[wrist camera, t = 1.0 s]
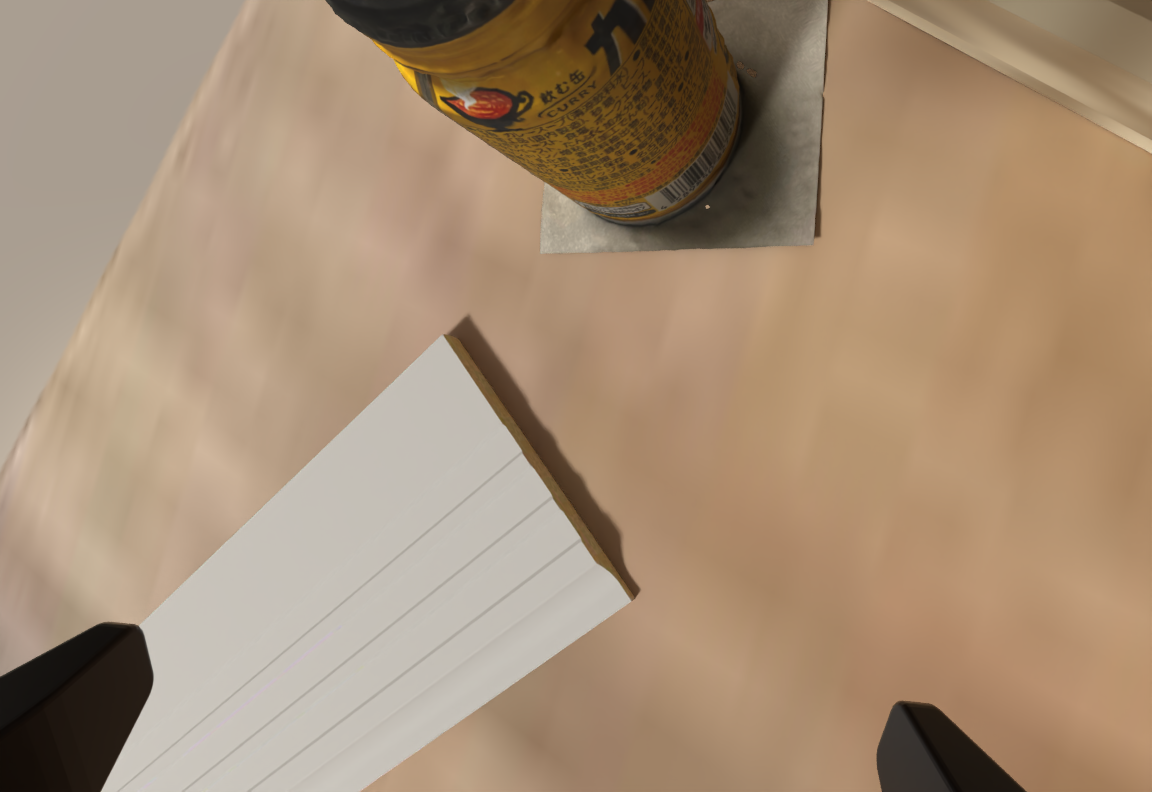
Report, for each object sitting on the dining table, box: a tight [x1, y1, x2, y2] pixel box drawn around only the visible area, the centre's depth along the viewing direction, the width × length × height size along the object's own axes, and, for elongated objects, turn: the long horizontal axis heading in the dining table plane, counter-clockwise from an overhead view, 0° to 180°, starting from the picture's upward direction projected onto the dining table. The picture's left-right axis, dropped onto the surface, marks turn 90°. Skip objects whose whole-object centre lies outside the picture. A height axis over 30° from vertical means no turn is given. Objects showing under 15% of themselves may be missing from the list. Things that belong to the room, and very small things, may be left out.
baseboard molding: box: [101, 334, 635, 792], centre depth 27 cm, size 31×3×12 cm
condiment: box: [326, 0, 828, 254], centre depth 16 cm, size 7×8×12 cm
